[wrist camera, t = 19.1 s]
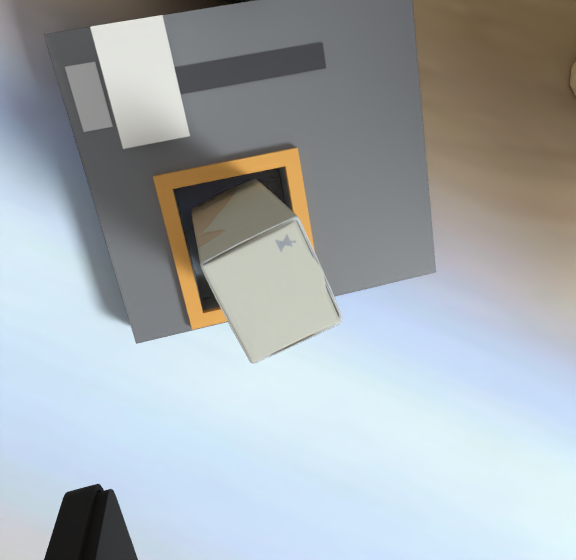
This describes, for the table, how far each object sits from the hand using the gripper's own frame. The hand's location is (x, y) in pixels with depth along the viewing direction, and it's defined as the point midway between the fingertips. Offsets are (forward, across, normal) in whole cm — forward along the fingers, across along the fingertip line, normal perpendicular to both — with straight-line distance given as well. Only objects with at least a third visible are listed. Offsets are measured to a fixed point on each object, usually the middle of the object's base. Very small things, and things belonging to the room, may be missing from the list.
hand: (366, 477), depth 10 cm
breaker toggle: (+20, +3, -9) cm, 22 cm away
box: (+22, 0, 0) cm, 22 cm away
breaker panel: (+22, -2, -4) cm, 23 cm away
